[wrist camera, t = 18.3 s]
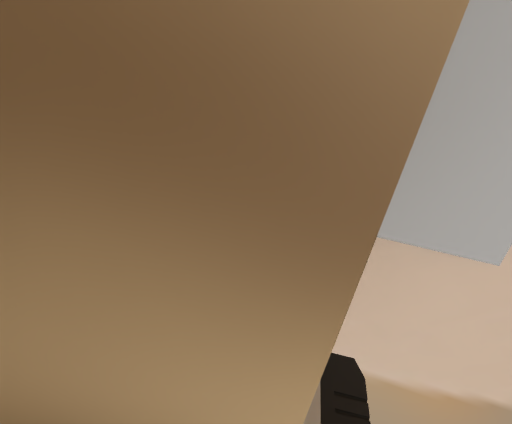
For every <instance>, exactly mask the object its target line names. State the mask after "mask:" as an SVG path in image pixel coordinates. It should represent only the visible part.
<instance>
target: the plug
mask: <svg viewBox="0 0 512 424" xmlns="http://www.w3.org/2000/svg"><path fill="white" fill-rule="evenodd" d="M469 1H470V0H0V424H303V423H304V420H305V418H306V415H307V413H308V410H309V408H310V405H311V403H312V400H313V398H314V395H315V392H316V390H317V387H318V385H319V382H320V380H321V377H322V375H323V372H324V370H325V367H326V364H327V362H328V359H329V357H330V354H331V352H332V349H333V347H334V344H335V342H336V339H337V336H338V334H339V331H340V329H341V326H342V324H343V321H344V319H345V316H346V314H347V311H348V308H349V306H350V303H351V301H352V298H353V296H354V293H355V291H356V288H357V286H358V283H359V281H360V278H361V275H362V273H363V270H364V268H365V265H366V263H367V260H368V258H369V255H370V253H371V250H372V247H373V245H374V242H375V240H376V237H377V235H378V232H379V230H380V227H381V225H382V222H383V219H384V217H385V214H386V212H387V209H388V207H389V204H390V202H391V199H392V197H393V194H394V191H395V189H396V186H397V184H398V181H399V179H400V176H401V174H402V171H403V169H404V166H405V163H406V161H407V158H408V156H409V153H410V151H411V148H412V146H413V143H414V141H415V138H416V136H417V133H418V130H419V128H420V125H421V123H422V120H423V118H424V115H425V113H426V110H427V108H428V105H429V102H430V100H431V97H432V95H433V92H434V90H435V87H436V85H437V82H438V80H439V77H440V74H441V72H442V69H443V67H444V64H445V62H446V59H447V57H448V54H449V52H450V49H451V46H452V44H453V41H454V39H455V36H456V34H457V31H458V29H459V26H460V24H461V21H462V19H463V16H464V13H465V11H466V8H467V6H468V3H469Z"/></svg>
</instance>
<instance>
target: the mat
mask: <svg viewBox="0 0 512 424" xmlns="http://www.w3.org/2000/svg"><path fill="white" fill-rule="evenodd" d="M377 237H379V238H383V239H387V240H392V241H396V242H400V243H404V244H409V245H413V246H417V247H421V248H426V249H430V250H434V251H438V252H442V253H447V254H451V255H455V256H459V257H464V258H468V259H472V260H476V261H481V262H485V263H489V264H493V265H497V266H500V264H501V262H502V260H503V259H504V257H505V255H506V254H507V252H508V250H509V248H510V247H511V245H512V0H470V1H469V3H468V6H467V8H466V11H465V13H464V16H463V19H462V21H461V24H460V26H459V29H458V31H457V34H456V36H455V39H454V41H453V44H452V46H451V49H450V52H449V54H448V57H447V59H446V62H445V64H444V67H443V69H442V72H441V74H440V77H439V80H438V82H437V85H436V87H435V90H434V92H433V95H432V97H431V100H430V102H429V105H428V108H427V110H426V113H425V115H424V118H423V120H422V123H421V125H420V128H419V130H418V133H417V136H416V138H415V141H414V143H413V146H412V148H411V151H410V153H409V156H408V158H407V161H406V163H405V166H404V169H403V171H402V174H401V176H400V179H399V181H398V184H397V186H396V189H395V191H394V194H393V197H392V199H391V202H390V204H389V207H388V209H387V212H386V214H385V217H384V219H383V222H382V225H381V227H380V230H379V232H378V235H377Z"/></svg>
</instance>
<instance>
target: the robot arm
mask: <svg viewBox="0 0 512 424" xmlns="http://www.w3.org/2000/svg"><path fill="white" fill-rule="evenodd" d="M303 424H370V421H369V408H368V403H367V392H366V384H365V378H364V376H363V374H362V372H361V370H360V369H359V367H358V365H357V363H356V361H355V359H354V358H350V357H346V356H342V355H338V354H334V353H331V354H330V357H329V359H328V362H327V364H326V367H325V370H324V372H323V375H322V377H321V380H320V382H319V385H318V387H317V390H316V392H315V395H314V398H313V400H312V403H311V405H310V408H309V410H308V413H307V415H306V418H305V420H304V423H303Z"/></svg>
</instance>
